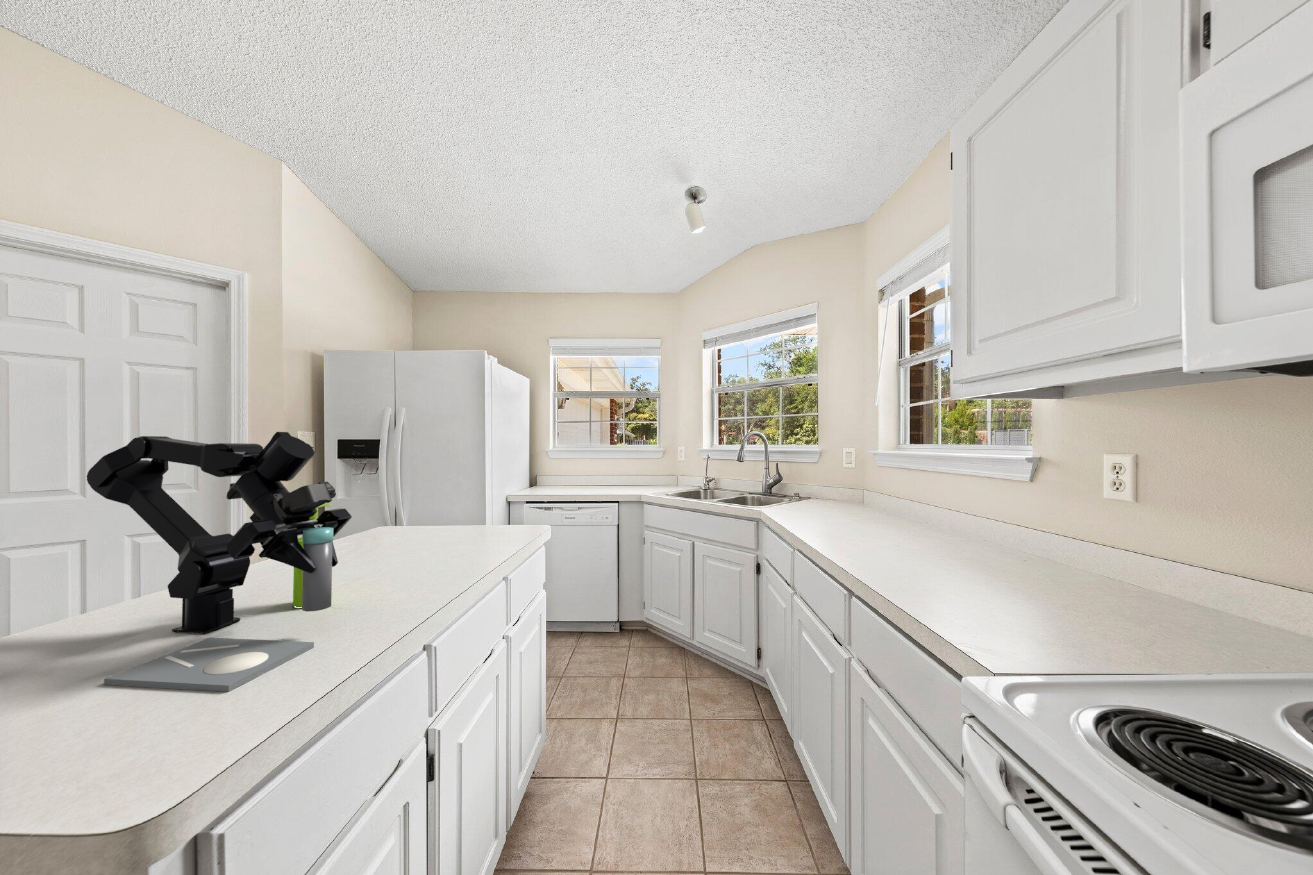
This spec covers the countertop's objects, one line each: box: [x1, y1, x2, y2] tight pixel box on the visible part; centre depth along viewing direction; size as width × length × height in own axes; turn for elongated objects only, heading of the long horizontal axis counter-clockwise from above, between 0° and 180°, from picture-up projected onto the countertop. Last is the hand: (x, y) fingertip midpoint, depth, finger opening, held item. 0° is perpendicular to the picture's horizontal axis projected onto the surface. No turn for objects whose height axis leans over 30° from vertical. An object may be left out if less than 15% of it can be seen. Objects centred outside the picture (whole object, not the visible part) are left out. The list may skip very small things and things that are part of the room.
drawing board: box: [103, 636, 315, 693], centre depth 71 cm, size 18×14×1 cm
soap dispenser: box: [292, 503, 333, 607], centre depth 98 cm, size 6×7×20 cm
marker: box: [301, 527, 334, 612], centre depth 81 cm, size 4×4×13 cm
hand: (324, 567), depth 81 cm, fingers closed on marker, 4 cm apart
